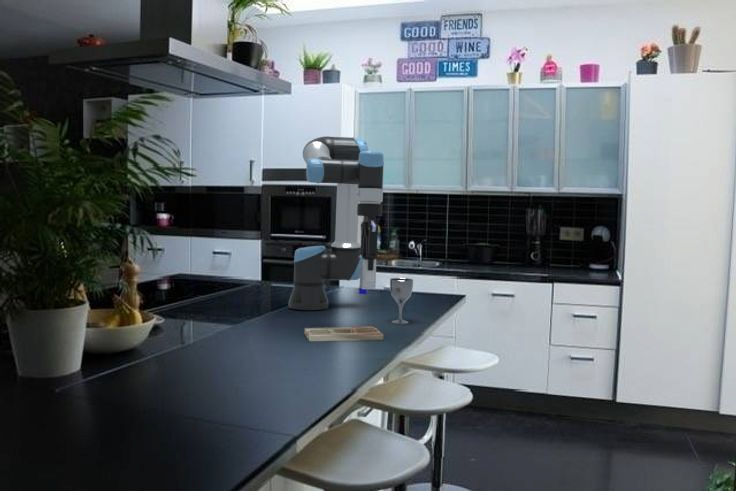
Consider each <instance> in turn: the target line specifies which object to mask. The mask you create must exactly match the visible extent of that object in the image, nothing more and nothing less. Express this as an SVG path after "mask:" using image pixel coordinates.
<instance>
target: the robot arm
mask: <svg viewBox="0 0 736 491" xmlns="http://www.w3.org/2000/svg"><path fill="white" fill-rule="evenodd" d="M302 157H303V158H302V159H303V161H304V162H305V164H306V167H305V168H306V171H305V172H306V173H305V175H306V181H307V182H308V183H312V184H313V183H314V184H315V183H316V184H336V208H335V233H334V241H333V242H332V243H331V245H330V249H326V248H327V247H326V246H325V245H314V246H305V247H300V248H297V249H296V250H294V260H293V263H294V265H293V266H294V268H293V287H292V292H291V293H290V297H289V300H288V308H289V309H293V310H299V311H319V310H327V309H328V308H329V299H328V296H327V295H328V294H327V293H326V289H325V281H347V282H349V281H358V280H360V259H361V258H364V260H365V281H374V269H375V259H377V258H378V232H379V224H378V223H377V221H376V217H381V216H383V204H382V203H383V201H384V200H383V199H384V198H383V197H384V188H383V185H384V165H385V162H384V153H383V152H381V151H377V150H369V147H368V143H367V142H366V140H365V139H363V138H361V137H360V138H359V137H354V136H353V137H348V136H347V137H346V136H341V137H339V136H320V137H316V138H314V139H312V140H310V141H308V143H306V144H305V146H304V147H303V151H302ZM359 217H363V220H362V222H361V223H360V242H358V241H359V240H358V237H359V236H358V235H359V234H358V233H359Z"/></svg>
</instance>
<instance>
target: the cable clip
mask: <svg viewBox="0 0 736 491" xmlns="http://www.w3.org/2000/svg"><path fill="white" fill-rule="evenodd" d="M358 288H359V289H358V291H359V292H358V293H359V294H358V295H366V294H368V292H369V291H370V289H361V288H360V284H359V287H358Z"/></svg>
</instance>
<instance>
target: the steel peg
mask: <svg viewBox="0 0 736 491" xmlns="http://www.w3.org/2000/svg"><path fill="white" fill-rule="evenodd" d="M376 279H377V258H375V269H374V281H365V260H364V258H361V259H360V278H359V285H360V288H361V289H369V290H376V288H377V287H376V286H377V285H376V282H377V280H376Z"/></svg>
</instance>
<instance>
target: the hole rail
mask: <svg viewBox="0 0 736 491" xmlns="http://www.w3.org/2000/svg"><path fill="white" fill-rule="evenodd" d="M304 335H305V336H306V338H307V340H308V342H343V341H344V342H348V341H350V342H351V341H354V342H355V341H384V334H383V332H381V331H380V330H379V329H378V328H377V327H374V326H350V327H348V326H347V327H345V326H344V327H304Z"/></svg>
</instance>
